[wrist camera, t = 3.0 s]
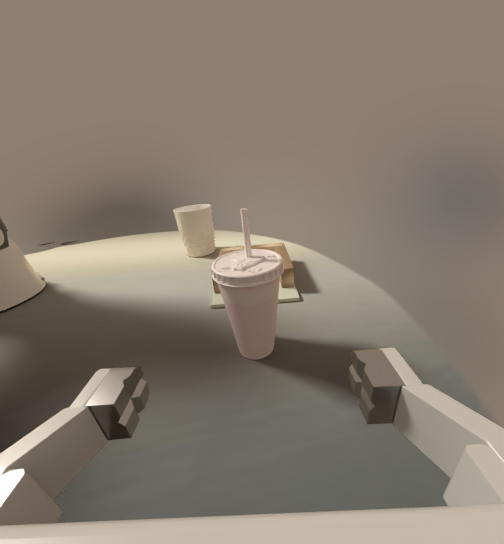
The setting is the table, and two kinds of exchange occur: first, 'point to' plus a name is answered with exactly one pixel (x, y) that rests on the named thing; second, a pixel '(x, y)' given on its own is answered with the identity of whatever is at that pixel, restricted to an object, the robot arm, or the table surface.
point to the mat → (283, 296)
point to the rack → (279, 248)
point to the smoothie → (250, 294)
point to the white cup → (196, 229)
